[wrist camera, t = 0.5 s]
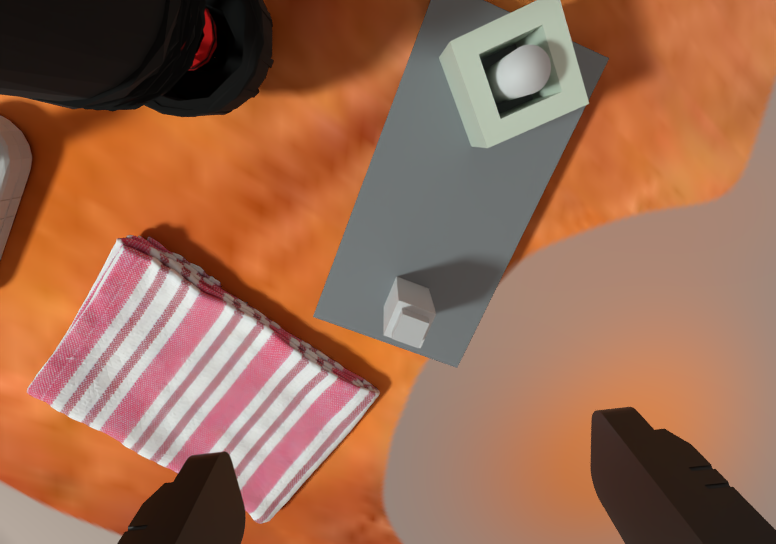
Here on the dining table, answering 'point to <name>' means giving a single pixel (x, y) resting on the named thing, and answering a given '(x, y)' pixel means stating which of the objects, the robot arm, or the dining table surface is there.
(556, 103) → the collar
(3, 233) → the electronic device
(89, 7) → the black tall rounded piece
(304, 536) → the dining table surface
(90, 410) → the dish towel
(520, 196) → the board
